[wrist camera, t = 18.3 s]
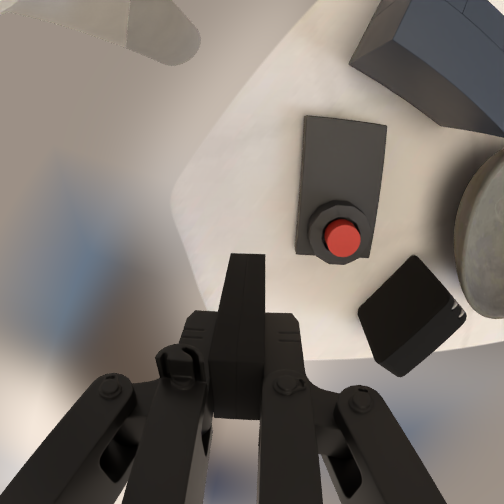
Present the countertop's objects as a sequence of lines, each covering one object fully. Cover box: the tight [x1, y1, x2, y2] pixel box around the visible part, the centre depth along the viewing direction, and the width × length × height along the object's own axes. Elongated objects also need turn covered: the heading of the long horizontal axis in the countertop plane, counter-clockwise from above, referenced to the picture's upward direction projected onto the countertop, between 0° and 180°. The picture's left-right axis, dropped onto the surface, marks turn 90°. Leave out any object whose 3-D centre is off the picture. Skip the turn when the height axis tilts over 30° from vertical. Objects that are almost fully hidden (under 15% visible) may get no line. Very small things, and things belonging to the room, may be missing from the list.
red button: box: [324, 219, 360, 257], centre depth 29 cm, size 3×3×2 cm
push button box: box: [295, 116, 387, 265], centre depth 30 cm, size 14×8×4 cm, turn 178°
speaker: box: [349, 0, 504, 138], centre depth 19 cm, size 10×12×13 cm
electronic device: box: [358, 255, 467, 377], centre depth 31 cm, size 4×10×10 cm, turn 142°
